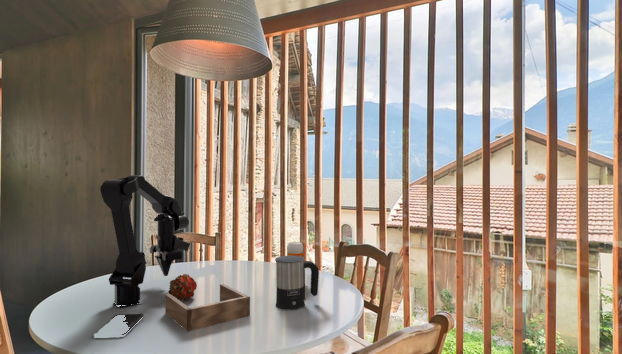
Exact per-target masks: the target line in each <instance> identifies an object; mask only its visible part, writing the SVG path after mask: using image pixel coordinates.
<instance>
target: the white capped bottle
mask: <svg viewBox="0 0 622 354" xmlns="http://www.w3.org/2000/svg"><path fill="white" fill-rule="evenodd" d="M286 256H301V257H304V245H303V243H302V242H298V241H292V242H291V241H290V242H288V243H287V245H286Z"/></svg>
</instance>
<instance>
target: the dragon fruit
mask: <svg viewBox="0 0 622 354" xmlns="http://www.w3.org/2000/svg"><path fill="white" fill-rule="evenodd" d="M197 286H198V285H197V281H195V279H194V278H193V277H192V276H190V275H189V274H187V273H183V274H182V275H181V274H180V275H178V276H176V277H175V278H174V279H172V280H170V281H169V290H168V291H167V294H171V295H172V296H174V297H175V298H176V299H178V300H179V301H181V300H183V301H184V300H186V298H188V299H190V298H193V297H194V295H195V291H196V290H197Z"/></svg>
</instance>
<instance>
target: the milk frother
mask: <svg viewBox="0 0 622 354" xmlns="http://www.w3.org/2000/svg"><path fill="white" fill-rule="evenodd" d="M274 261H275V262H276V263H275V265H276V267H275V268H276V271H275V272H276V300H275V301H276V302H275V307H276V308H277V309H279V310H283V311H295V310H300V309H303V308H304V307H305V306H306V303H305V300H306V269H310V291H309V293H310V294H311V295H312V296H313V297H316V296H317V295H318V292H319V278H320V276H319V274H320V271H319V267H318V265H317V264H316V263H314V262H313V261H310V260H305V257H304V256H303V257H301V256H287V255H282V256H278V257H276V258H275V259H274Z"/></svg>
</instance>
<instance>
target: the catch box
mask: <svg viewBox="0 0 622 354" xmlns="http://www.w3.org/2000/svg"><path fill="white" fill-rule="evenodd" d="M164 295H165V298H164V300H165V301H164V302H165V303H164V305H165V306H164V310H165V312H164V314H166V315H167V314H168V315H169V316H170V317H171V318H170V317H169V316H168V315H167V316H168V317H169V318H170V319H171V320H173V321H174V320H175V321H176V322H177V323H176V322H175V321H174V322H175V323H176V324H178V325H179V326H180V327H181V326H182V327H183V330H185V331H186V332H191V331H195V330H199V329H203V328H206V327H210V326H211V327H212V326H214V325H219V324H224V323H226V322H231V321H235V320H238V319H243V318H247V317H251V296H249V295H248V294H245V293H243V292H241V291H239V290H237V289H235V288H233V287H230V286H229V285H227V284H224V283H221V284H219V301H218V302H217V301H216V302H212V303H208V304H203V305H198V306H193V307H189V306H188V305H186V304H185V303H183V301H181V300H178V299H177V298H175V297H174V296H172V295H171V294H169V293H165V294H164ZM182 327H181V328H182Z"/></svg>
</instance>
